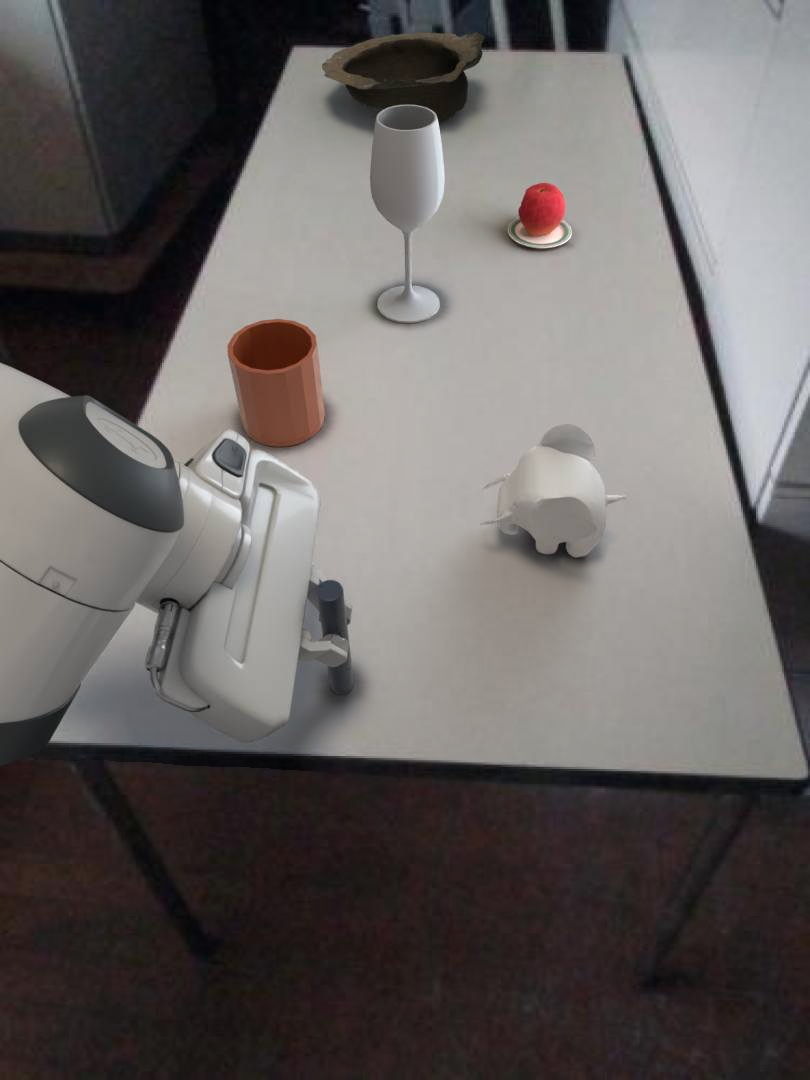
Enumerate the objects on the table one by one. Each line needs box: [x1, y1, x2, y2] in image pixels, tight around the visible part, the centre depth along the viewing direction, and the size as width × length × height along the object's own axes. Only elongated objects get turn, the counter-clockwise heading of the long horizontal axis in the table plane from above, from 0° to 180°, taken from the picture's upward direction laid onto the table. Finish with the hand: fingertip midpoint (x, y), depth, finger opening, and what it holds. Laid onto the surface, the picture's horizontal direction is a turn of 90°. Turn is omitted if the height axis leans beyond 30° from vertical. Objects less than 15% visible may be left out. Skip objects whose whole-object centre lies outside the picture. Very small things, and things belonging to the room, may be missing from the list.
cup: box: [227, 318, 326, 448], centre depth 82 cm, size 8×8×9 cm
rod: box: [316, 579, 355, 695], centre depth 61 cm, size 2×2×12 cm
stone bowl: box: [321, 31, 486, 124], centre depth 130 cm, size 25×25×9 cm
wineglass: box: [369, 105, 445, 324], centre depth 90 cm, size 8×8×21 cm
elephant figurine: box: [479, 423, 627, 558], centre depth 72 cm, size 10×12×9 cm
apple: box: [507, 182, 573, 249], centre depth 105 cm, size 8×8×6 cm
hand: (344, 636), depth 61 cm, fingers closed on rod, 2 cm apart
